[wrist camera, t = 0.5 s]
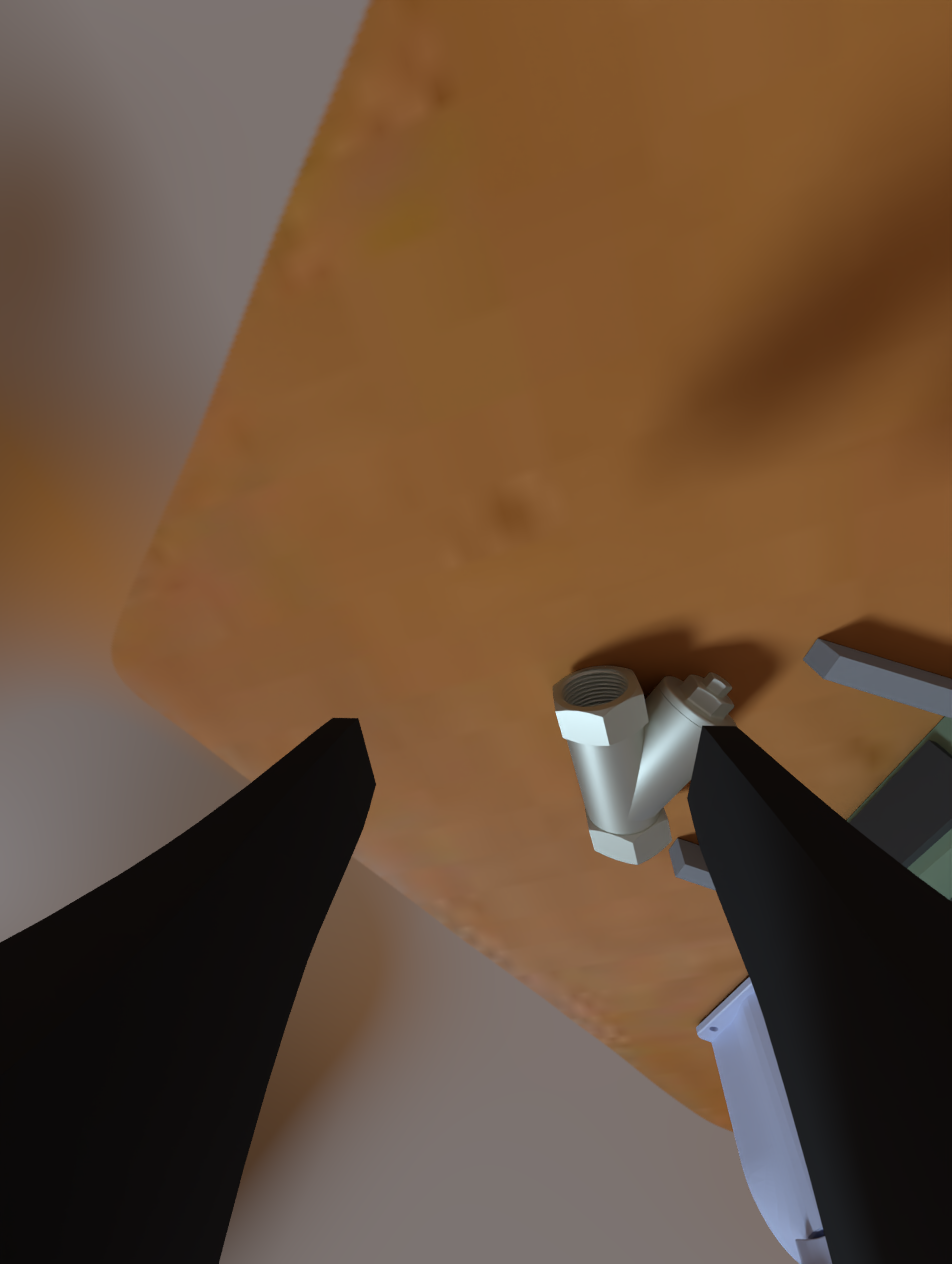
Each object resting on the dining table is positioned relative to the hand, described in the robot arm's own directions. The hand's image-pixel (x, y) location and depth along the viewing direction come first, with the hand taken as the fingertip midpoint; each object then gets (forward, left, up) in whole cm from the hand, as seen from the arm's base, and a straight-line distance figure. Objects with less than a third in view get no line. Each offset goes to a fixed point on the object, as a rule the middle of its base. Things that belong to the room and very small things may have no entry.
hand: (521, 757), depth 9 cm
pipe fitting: (-5, -7, -10) cm, 13 cm away
